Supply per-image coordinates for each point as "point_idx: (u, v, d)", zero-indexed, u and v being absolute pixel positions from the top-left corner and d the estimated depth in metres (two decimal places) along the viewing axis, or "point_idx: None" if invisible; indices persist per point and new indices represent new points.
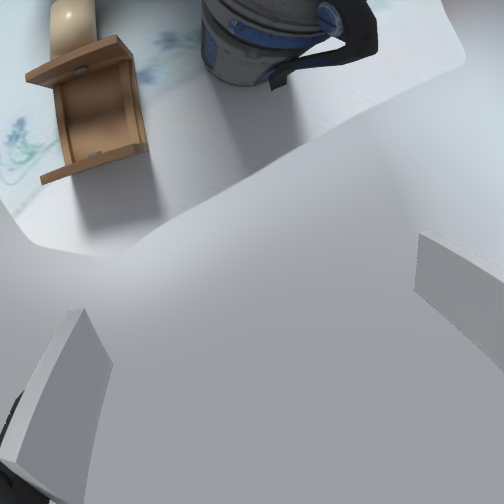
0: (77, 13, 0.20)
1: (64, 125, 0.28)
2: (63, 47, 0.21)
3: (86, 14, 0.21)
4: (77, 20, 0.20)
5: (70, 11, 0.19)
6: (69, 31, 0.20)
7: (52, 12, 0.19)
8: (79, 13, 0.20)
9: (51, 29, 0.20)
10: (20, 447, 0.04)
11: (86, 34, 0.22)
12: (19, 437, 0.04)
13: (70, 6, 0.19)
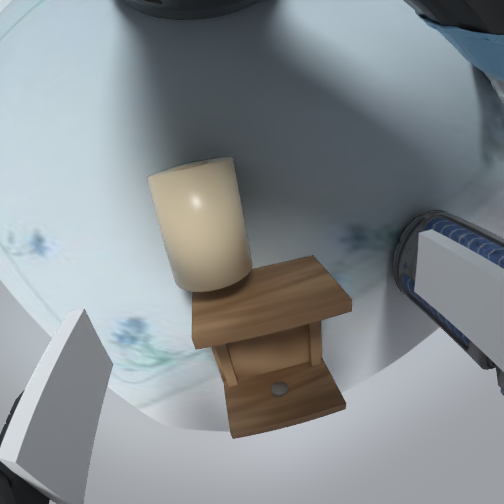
0: (192, 230, 0.18)
1: (226, 349, 0.27)
2: (187, 290, 0.20)
3: (213, 228, 0.18)
4: (197, 246, 0.18)
5: (179, 223, 0.18)
6: (188, 266, 0.19)
7: (152, 198, 0.19)
8: (197, 228, 0.18)
9: None
10: (20, 447, 0.04)
11: (221, 273, 0.19)
12: (19, 437, 0.04)
13: (176, 210, 0.18)
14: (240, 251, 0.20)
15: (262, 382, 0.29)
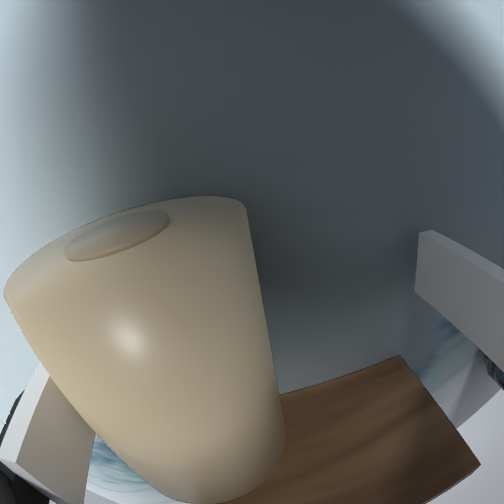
0: (97, 432, 0.05)
1: None
2: None
3: (143, 450, 0.05)
4: (119, 454, 0.06)
5: None
6: None
7: None
8: (104, 435, 0.05)
9: None
10: (20, 447, 0.04)
11: (184, 494, 0.06)
12: (19, 437, 0.04)
13: None
14: (235, 471, 0.06)
15: None
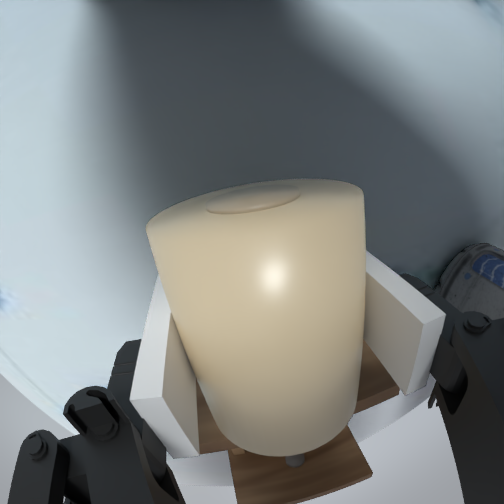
0: (323, 364, 0.07)
1: None
2: (275, 455, 0.08)
3: (354, 343, 0.08)
4: (325, 389, 0.07)
5: (292, 357, 0.07)
6: (294, 427, 0.08)
7: (173, 294, 0.07)
8: (332, 357, 0.07)
9: (195, 367, 0.08)
10: (162, 381, 0.06)
11: (347, 410, 0.09)
12: (156, 373, 0.06)
13: (289, 330, 0.06)
14: None
15: None
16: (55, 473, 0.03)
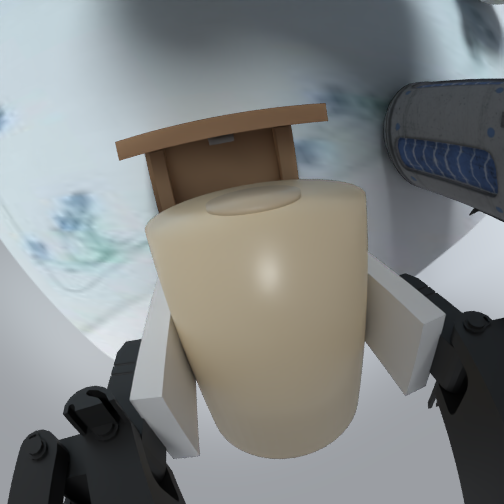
0: (325, 366, 0.07)
1: None
2: (276, 457, 0.08)
3: (356, 345, 0.07)
4: (326, 391, 0.07)
5: (294, 360, 0.06)
6: (295, 430, 0.08)
7: (173, 297, 0.07)
8: (334, 359, 0.07)
9: (196, 369, 0.08)
10: (162, 381, 0.06)
11: (348, 412, 0.09)
12: (155, 373, 0.06)
13: (290, 333, 0.06)
14: None
15: None
16: (55, 473, 0.03)
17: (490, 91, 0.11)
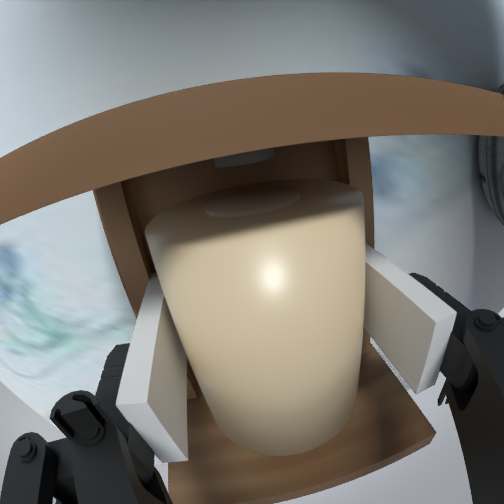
0: (322, 366, 0.07)
1: None
2: (275, 455, 0.09)
3: (353, 345, 0.08)
4: (323, 390, 0.07)
5: (291, 360, 0.07)
6: (293, 428, 0.08)
7: (172, 298, 0.07)
8: (331, 359, 0.07)
9: (195, 368, 0.08)
10: (148, 386, 0.06)
11: (346, 410, 0.09)
12: (142, 378, 0.06)
13: (287, 334, 0.06)
14: None
15: None
16: (44, 474, 0.03)
17: None
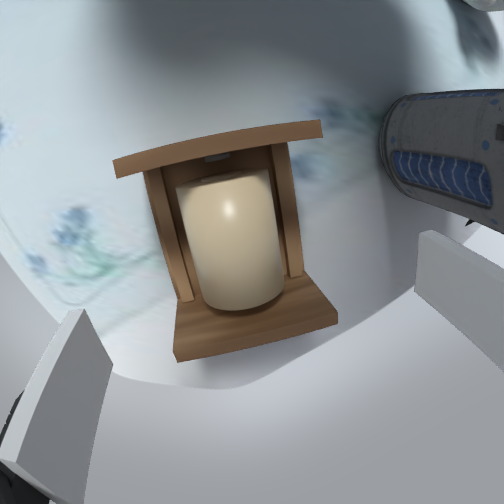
0: (249, 242, 0.17)
1: (176, 240, 0.22)
2: None
3: (266, 237, 0.18)
4: (252, 258, 0.18)
5: (233, 235, 0.17)
6: (240, 282, 0.18)
7: (187, 212, 0.17)
8: (253, 239, 0.17)
9: (194, 252, 0.18)
10: (20, 447, 0.04)
11: (272, 283, 0.19)
12: (19, 437, 0.04)
13: (231, 221, 0.17)
14: (281, 259, 0.20)
15: None
16: None
17: (485, 103, 0.11)
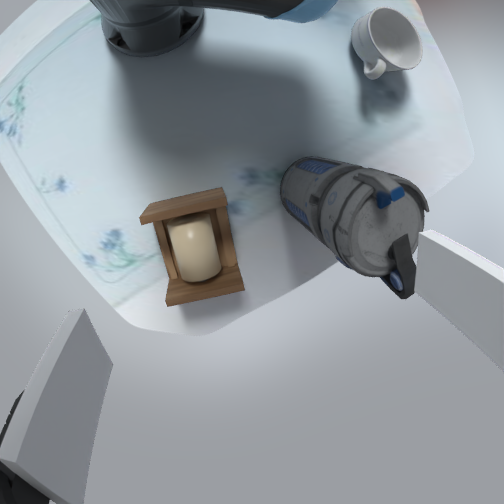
0: (198, 250, 0.38)
1: (168, 247, 0.43)
2: (194, 281, 0.40)
3: (207, 248, 0.39)
4: (201, 257, 0.39)
5: (191, 247, 0.38)
6: (196, 268, 0.39)
7: (172, 237, 0.38)
8: (200, 249, 0.39)
9: (176, 254, 0.40)
10: (20, 447, 0.04)
11: (211, 269, 0.40)
12: (19, 437, 0.04)
13: (190, 241, 0.38)
14: (217, 258, 0.41)
15: None
16: None
17: (313, 179, 0.32)
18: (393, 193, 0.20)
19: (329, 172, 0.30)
